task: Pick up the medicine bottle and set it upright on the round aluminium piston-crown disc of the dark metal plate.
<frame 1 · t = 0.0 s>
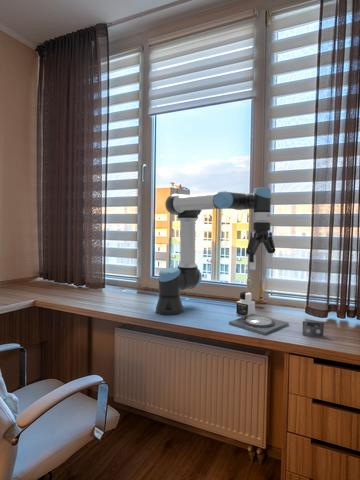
hand: (261, 268, 143), 28 cm above the table, fingers open, 13 cm apart
medicine bottle: (245, 315, 166), on the table
mini dv tape: (312, 336, 135), on the table
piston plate: (258, 324, 149), on the table
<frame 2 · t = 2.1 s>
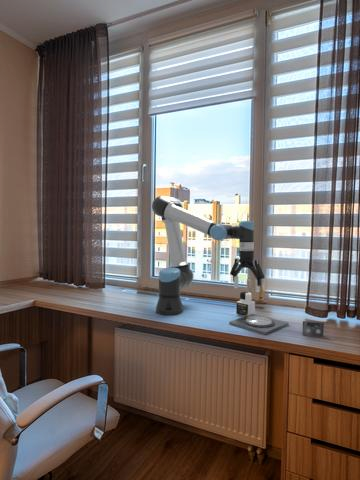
hand: (246, 290, 165), 13 cm above the table, fingers open, 13 cm apart
nothing on the table moved.
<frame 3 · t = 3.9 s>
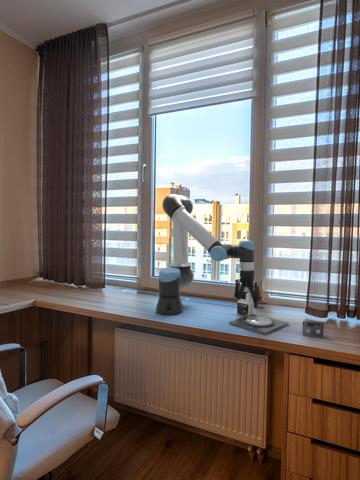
hand: (247, 312, 165), 1 cm above the table, fingers open, 8 cm apart
medicine bottle: (246, 315, 166), on the table, touching gripper, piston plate
everything else where it was.
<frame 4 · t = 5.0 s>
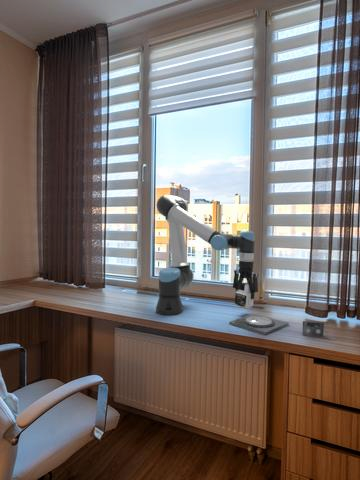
hand: (244, 303, 166), 6 cm above the table, fingers closed on medicine bottle, 7 cm apart
medicine bottle: (243, 306, 166), point 5 cm above the table, touching gripper
everything else where it was.
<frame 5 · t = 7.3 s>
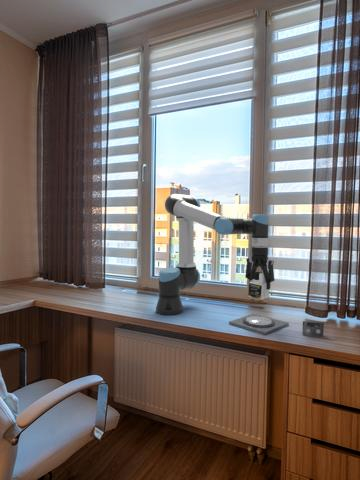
hand: (259, 294, 149), 15 cm above the table, fingers closed on medicine bottle, 7 cm apart
medicine bottle: (258, 297, 149), point 13 cm above the table, touching gripper
everything else where it was.
when the fingers open (4 cm above the table, at t = 9.8 s): medicine bottle stays where it is, resting on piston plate.
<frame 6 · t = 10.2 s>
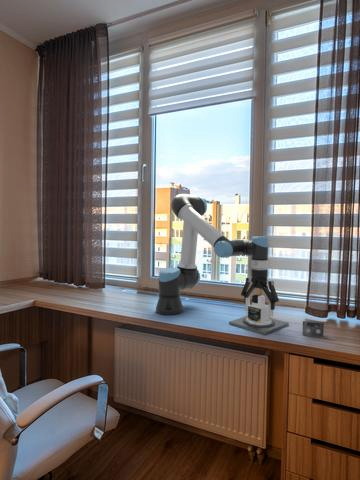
hand: (258, 313, 149), 5 cm above the table, fingers open, 12 cm apart
medicine bottle: (258, 320, 150), point 2 cm above the table, touching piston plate
everything else where it was.
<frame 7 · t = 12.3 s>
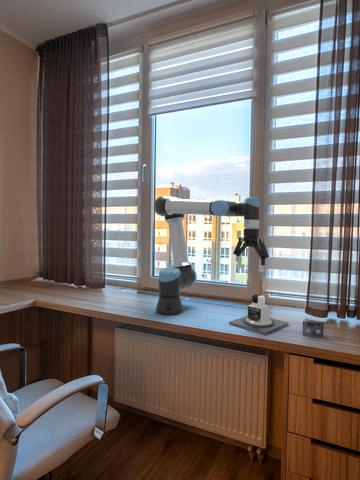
hand: (249, 270, 158), 25 cm above the table, fingers open, 13 cm apart
nothing on the table moved.
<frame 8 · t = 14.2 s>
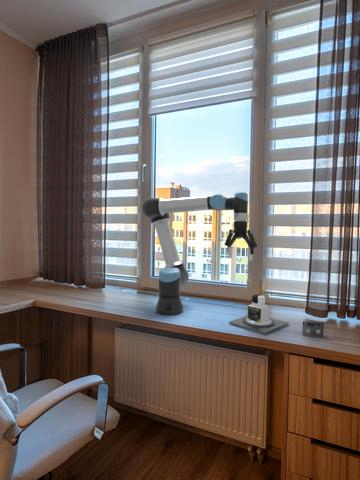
hand: (240, 259, 172), 29 cm above the table, fingers open, 13 cm apart
nothing on the table moved.
at the end: medicine bottle 0.3 cm from the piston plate (horizontally); medicine bottle point 2.0 cm above the table; medicine bottle tilted 0° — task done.
